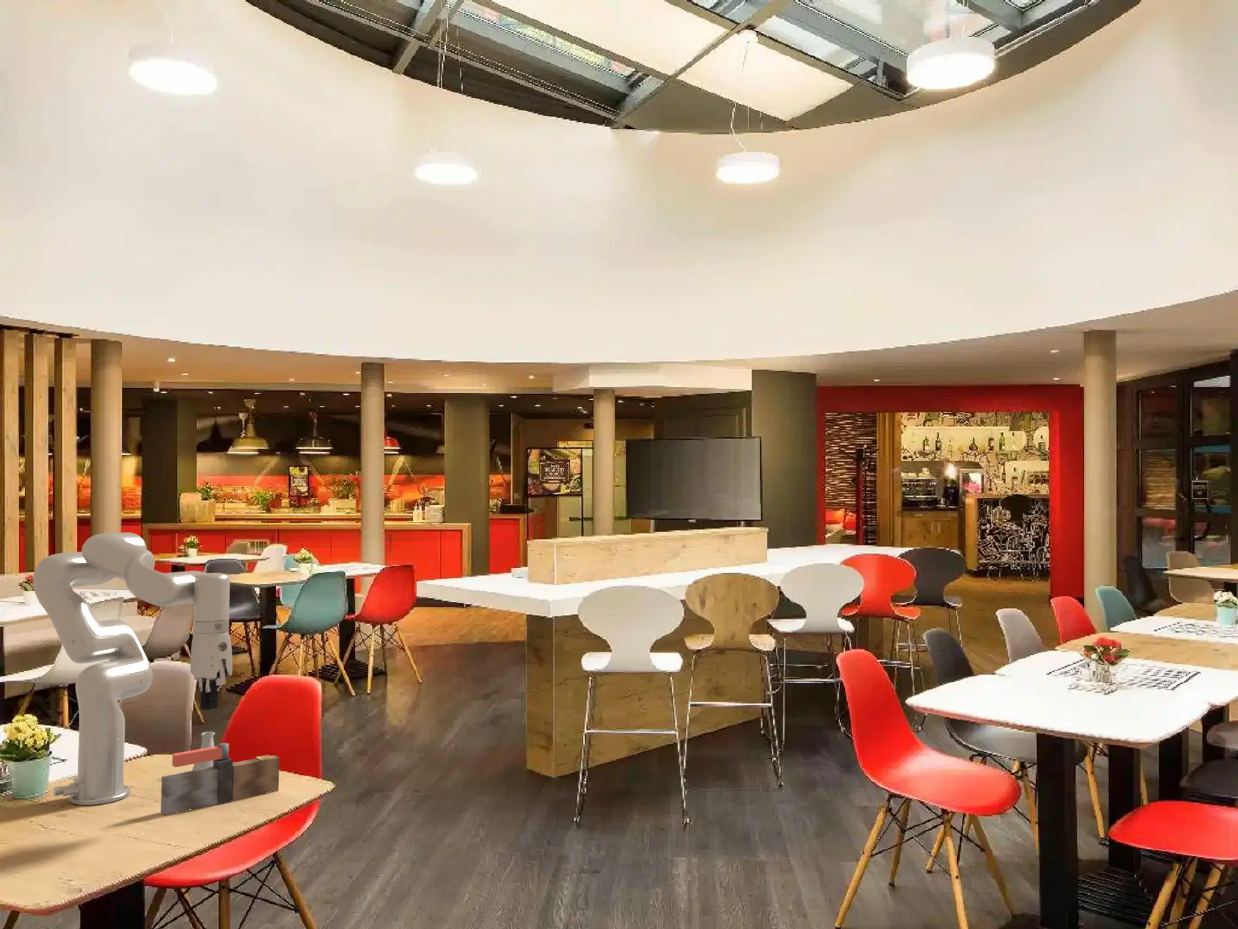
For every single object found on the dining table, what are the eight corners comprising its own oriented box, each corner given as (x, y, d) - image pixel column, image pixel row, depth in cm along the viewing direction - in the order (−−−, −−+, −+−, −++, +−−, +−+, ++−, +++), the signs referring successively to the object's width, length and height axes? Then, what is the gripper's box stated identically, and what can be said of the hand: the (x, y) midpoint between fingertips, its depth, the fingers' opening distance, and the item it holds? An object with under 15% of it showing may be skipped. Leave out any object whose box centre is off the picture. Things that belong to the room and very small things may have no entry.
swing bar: (226, 756, 217) (226, 742, 217) (230, 758, 215) (230, 744, 215) (171, 766, 208) (172, 752, 209) (175, 768, 207) (176, 754, 207)
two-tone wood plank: (166, 816, 204) (167, 772, 205) (160, 811, 207) (161, 768, 208) (279, 791, 222) (280, 751, 223) (272, 787, 225) (273, 747, 226)
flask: (227, 768, 241) (228, 730, 241) (212, 776, 234) (213, 737, 234) (201, 767, 242) (202, 729, 242) (185, 775, 234) (186, 736, 235)
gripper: (245, 628, 208) (243, 710, 207) (207, 623, 216) (205, 701, 215) (214, 632, 201) (212, 716, 201) (177, 626, 210) (175, 707, 209)
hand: (208, 708), depth 208 cm, fingers closed
